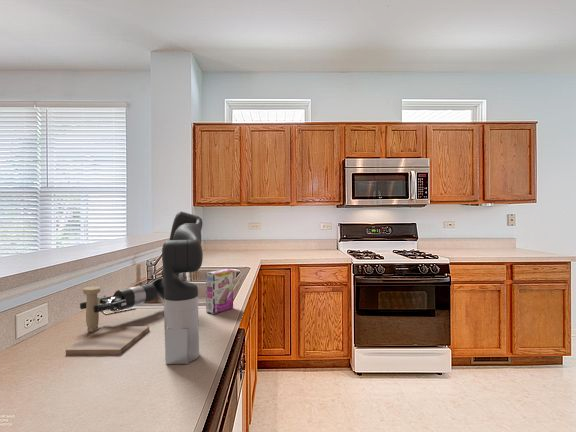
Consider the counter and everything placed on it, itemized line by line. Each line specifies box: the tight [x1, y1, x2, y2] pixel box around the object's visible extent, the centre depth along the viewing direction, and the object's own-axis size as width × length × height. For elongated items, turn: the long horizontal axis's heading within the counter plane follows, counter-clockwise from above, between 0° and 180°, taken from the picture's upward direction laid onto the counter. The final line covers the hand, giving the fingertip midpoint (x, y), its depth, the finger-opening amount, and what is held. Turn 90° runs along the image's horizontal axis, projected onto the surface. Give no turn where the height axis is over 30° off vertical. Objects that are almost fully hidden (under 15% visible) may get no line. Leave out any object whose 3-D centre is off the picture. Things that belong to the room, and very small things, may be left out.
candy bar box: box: [205, 268, 234, 315], centre depth 144 cm, size 11×5×16 cm, turn 144°
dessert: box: [103, 306, 137, 315], centre depth 148 cm, size 12×12×5 cm
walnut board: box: [65, 325, 150, 356], centre depth 111 cm, size 20×16×2 cm
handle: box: [82, 285, 101, 333], centre depth 121 cm, size 5×6×15 cm
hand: (87, 307), depth 120 cm, fingers open, 8 cm apart
